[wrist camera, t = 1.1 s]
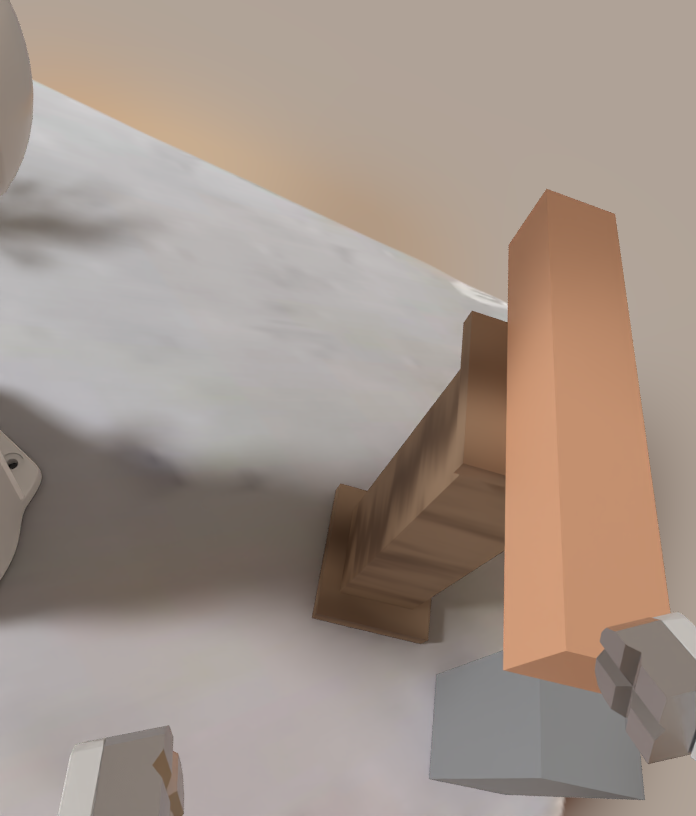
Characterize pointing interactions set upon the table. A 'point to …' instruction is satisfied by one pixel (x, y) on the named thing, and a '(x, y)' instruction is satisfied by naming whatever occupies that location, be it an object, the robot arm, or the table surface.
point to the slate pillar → (529, 736)
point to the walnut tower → (425, 503)
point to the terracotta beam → (573, 450)
